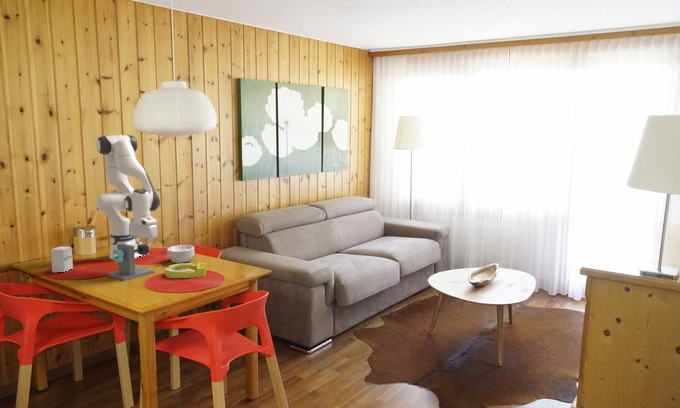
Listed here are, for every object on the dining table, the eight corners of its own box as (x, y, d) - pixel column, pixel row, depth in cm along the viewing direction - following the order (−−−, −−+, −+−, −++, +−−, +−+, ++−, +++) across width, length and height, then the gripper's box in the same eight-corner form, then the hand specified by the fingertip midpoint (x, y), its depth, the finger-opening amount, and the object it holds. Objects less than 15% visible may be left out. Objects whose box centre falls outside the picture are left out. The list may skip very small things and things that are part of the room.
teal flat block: (117, 259, 279) (116, 249, 278) (123, 261, 276) (123, 250, 275) (113, 260, 277) (112, 249, 276) (120, 262, 274) (119, 251, 273)
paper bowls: (162, 260, 311) (162, 247, 310) (187, 256, 321) (187, 243, 320) (174, 266, 300) (173, 252, 299) (199, 261, 310) (198, 248, 309)
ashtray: (205, 278, 279) (204, 269, 278) (163, 280, 275) (163, 271, 274) (206, 269, 295) (206, 261, 294) (167, 271, 291) (166, 262, 290)
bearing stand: (137, 268, 295) (136, 239, 292) (153, 272, 287) (152, 243, 284) (107, 275, 280) (106, 246, 277) (124, 280, 272) (122, 250, 270)
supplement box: (64, 273, 283) (62, 250, 281) (51, 272, 284) (50, 249, 282) (73, 269, 290) (72, 246, 288) (61, 268, 292) (60, 245, 290)
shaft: (144, 252, 291) (143, 243, 290) (148, 253, 289) (148, 244, 288) (110, 260, 275) (110, 250, 274) (115, 261, 273) (115, 251, 272)
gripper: (124, 218, 289) (126, 243, 291) (148, 222, 277) (150, 248, 279) (135, 217, 294) (136, 241, 296) (159, 220, 282) (160, 246, 284)
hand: (143, 245), depth 287 cm, fingers open, 8 cm apart
